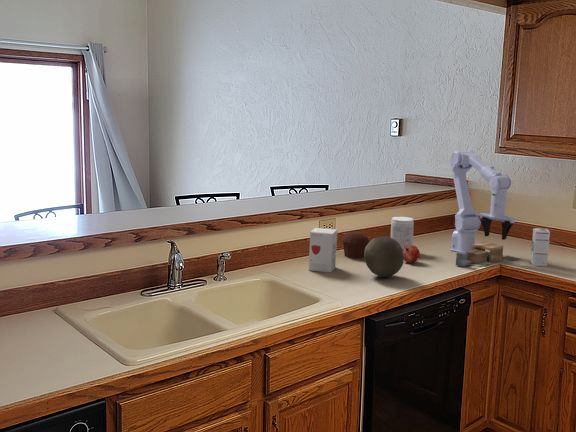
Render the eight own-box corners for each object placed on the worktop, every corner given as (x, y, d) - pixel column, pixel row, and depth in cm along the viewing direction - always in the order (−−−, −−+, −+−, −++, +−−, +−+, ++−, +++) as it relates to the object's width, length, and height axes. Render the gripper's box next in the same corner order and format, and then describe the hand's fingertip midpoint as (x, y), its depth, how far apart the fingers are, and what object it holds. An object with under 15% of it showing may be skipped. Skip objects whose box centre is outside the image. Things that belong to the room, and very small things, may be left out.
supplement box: (307, 270, 233) (309, 231, 230) (313, 265, 241) (314, 227, 239) (331, 272, 230) (333, 233, 228) (336, 267, 239) (337, 229, 236)
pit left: (481, 254, 267) (481, 253, 267) (488, 252, 271) (488, 251, 271) (493, 256, 263) (494, 256, 263) (500, 254, 267) (501, 254, 267)
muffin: (374, 256, 257) (375, 233, 256) (357, 260, 250) (358, 236, 248) (352, 251, 266) (353, 228, 264) (335, 255, 258) (336, 231, 256)
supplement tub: (393, 248, 274) (395, 215, 271) (414, 251, 270) (416, 217, 267) (386, 252, 265) (388, 218, 263) (408, 255, 261) (410, 221, 259)
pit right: (500, 258, 261) (500, 257, 261) (507, 256, 265) (507, 255, 265) (513, 261, 257) (514, 260, 257) (520, 258, 261) (520, 258, 261)
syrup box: (547, 266, 249) (551, 231, 246) (532, 265, 250) (535, 230, 247) (544, 263, 254) (548, 228, 252) (529, 262, 256) (532, 227, 253)
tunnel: (471, 258, 259) (472, 244, 258) (482, 255, 265) (483, 241, 264) (491, 262, 253) (492, 248, 252) (502, 259, 259) (503, 245, 258)
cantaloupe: (369, 270, 235) (371, 231, 233) (406, 275, 230) (408, 235, 227) (358, 279, 222) (360, 238, 220) (397, 284, 217) (400, 242, 214)
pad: (457, 261, 253) (457, 261, 253) (469, 258, 259) (469, 258, 259) (479, 266, 246) (479, 266, 246) (491, 263, 252) (491, 262, 252)
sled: (452, 264, 246) (453, 252, 245) (474, 258, 257) (475, 246, 257) (465, 267, 242) (466, 254, 242) (486, 261, 254) (487, 249, 253)
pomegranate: (408, 265, 254) (393, 252, 250) (419, 251, 255) (404, 237, 250) (418, 271, 248) (403, 258, 243) (429, 257, 248) (414, 243, 243)
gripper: (476, 203, 254) (474, 235, 256) (509, 208, 243) (506, 242, 246) (486, 202, 259) (483, 233, 261) (518, 206, 248) (515, 239, 250)
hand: (495, 237), depth 254 cm, fingers open, 7 cm apart
